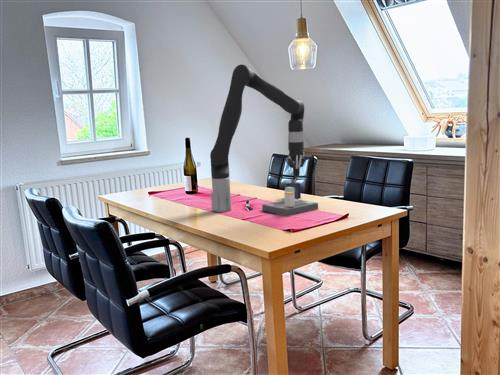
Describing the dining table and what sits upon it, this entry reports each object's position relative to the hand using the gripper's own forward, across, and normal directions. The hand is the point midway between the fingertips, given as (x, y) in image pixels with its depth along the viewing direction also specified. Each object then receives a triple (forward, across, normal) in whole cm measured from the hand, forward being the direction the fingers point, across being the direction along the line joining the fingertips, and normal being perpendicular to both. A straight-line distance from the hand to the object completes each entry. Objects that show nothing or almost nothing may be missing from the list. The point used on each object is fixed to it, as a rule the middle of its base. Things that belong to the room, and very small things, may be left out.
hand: (296, 176), depth 239 cm
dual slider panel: (+18, 0, +6) cm, 19 cm away
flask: (+18, +22, +28) cm, 40 cm away
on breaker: (+14, +5, +11) cm, 19 cm away
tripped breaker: (+14, -5, 0) cm, 15 cm away
